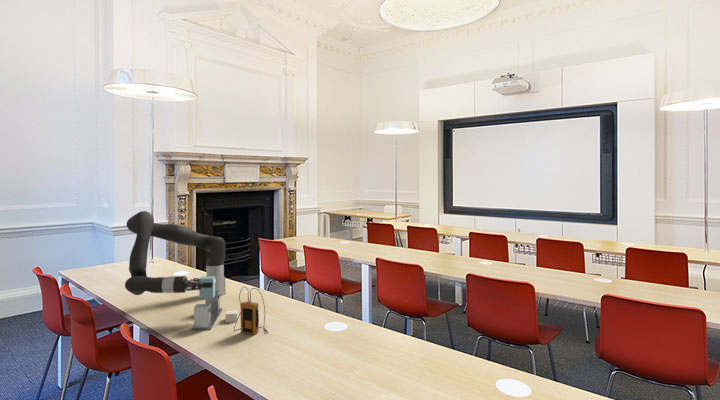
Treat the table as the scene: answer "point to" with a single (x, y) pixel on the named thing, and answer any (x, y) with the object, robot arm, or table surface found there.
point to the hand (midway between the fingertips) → (213, 283)
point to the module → (207, 291)
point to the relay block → (231, 316)
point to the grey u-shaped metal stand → (207, 313)
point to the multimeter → (249, 316)
